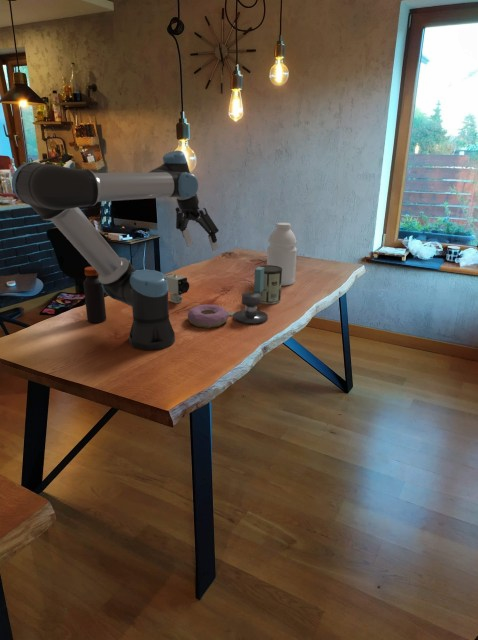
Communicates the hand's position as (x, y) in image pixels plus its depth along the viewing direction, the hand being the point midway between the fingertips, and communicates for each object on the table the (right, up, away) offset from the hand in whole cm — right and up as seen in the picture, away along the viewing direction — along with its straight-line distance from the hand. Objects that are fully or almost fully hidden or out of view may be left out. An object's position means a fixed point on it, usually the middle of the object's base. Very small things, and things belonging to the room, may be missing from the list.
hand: (202, 247), depth 176 cm
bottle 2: (+34, -10, +44) cm, 57 cm away
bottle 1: (-39, -28, -6) cm, 49 cm away
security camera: (-12, -21, +15) cm, 28 cm away
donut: (+3, -29, -5) cm, 30 cm away
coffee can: (+27, -20, +19) cm, 38 cm away
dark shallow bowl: (+17, -27, -1) cm, 32 cm away
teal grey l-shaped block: (+20, -21, -1) cm, 29 cm away
